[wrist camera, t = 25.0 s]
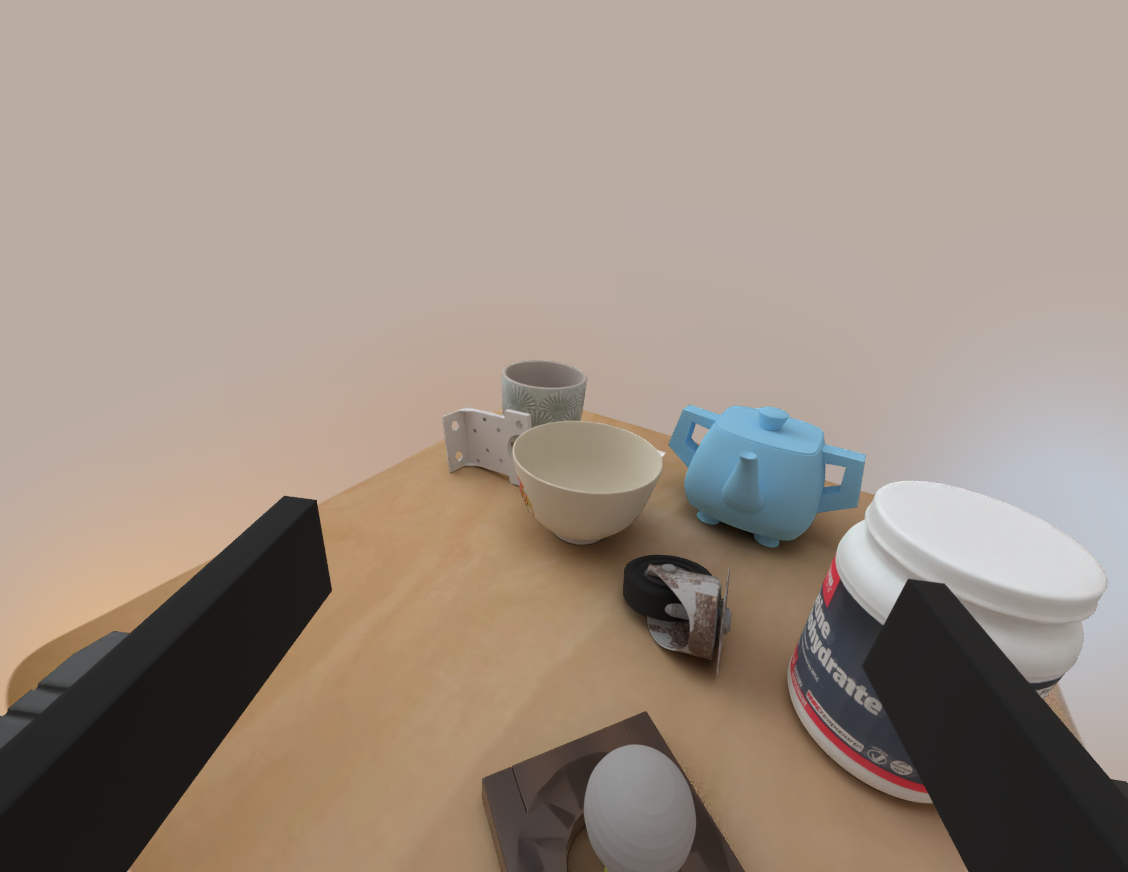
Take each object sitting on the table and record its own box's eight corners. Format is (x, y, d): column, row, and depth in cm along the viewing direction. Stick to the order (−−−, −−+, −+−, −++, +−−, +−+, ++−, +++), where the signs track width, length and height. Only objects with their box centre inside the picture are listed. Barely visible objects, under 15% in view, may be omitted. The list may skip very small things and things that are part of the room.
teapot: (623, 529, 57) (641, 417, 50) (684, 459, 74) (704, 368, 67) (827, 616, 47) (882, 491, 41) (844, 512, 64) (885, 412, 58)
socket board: (565, 1114, 20) (570, 1100, 19) (481, 796, 31) (481, 778, 30) (776, 956, 25) (787, 939, 24) (642, 728, 35) (646, 710, 35)
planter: (572, 465, 69) (579, 394, 64) (489, 451, 71) (490, 380, 66) (585, 429, 80) (593, 366, 75) (513, 418, 82) (516, 355, 77)
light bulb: (564, 932, 25) (583, 829, 21) (579, 814, 30) (597, 711, 26) (669, 960, 25) (712, 861, 20) (667, 836, 30) (701, 734, 25)
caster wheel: (633, 588, 52) (732, 609, 48) (601, 650, 41) (724, 683, 38) (636, 529, 50) (738, 546, 47) (604, 578, 40) (732, 605, 36)
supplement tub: (753, 653, 42) (820, 471, 34) (885, 647, 44) (979, 473, 36) (847, 825, 31) (980, 613, 23) (1020, 807, 33) (1202, 606, 25)
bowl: (522, 483, 64) (526, 413, 59) (644, 498, 63) (657, 429, 59) (495, 565, 50) (497, 481, 45) (652, 585, 49) (670, 502, 44)
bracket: (450, 479, 65) (441, 408, 62) (473, 467, 68) (466, 399, 65) (512, 501, 59) (506, 424, 55) (535, 487, 62) (530, 414, 59)
